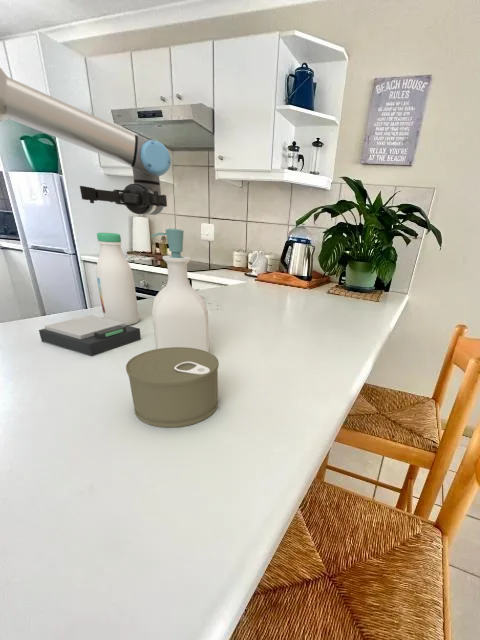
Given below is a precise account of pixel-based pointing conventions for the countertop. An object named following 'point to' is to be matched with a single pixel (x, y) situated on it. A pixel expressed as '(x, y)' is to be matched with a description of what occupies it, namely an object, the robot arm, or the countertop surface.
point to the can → (174, 386)
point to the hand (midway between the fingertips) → (114, 195)
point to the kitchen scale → (89, 334)
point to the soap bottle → (179, 303)
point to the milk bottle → (115, 281)
